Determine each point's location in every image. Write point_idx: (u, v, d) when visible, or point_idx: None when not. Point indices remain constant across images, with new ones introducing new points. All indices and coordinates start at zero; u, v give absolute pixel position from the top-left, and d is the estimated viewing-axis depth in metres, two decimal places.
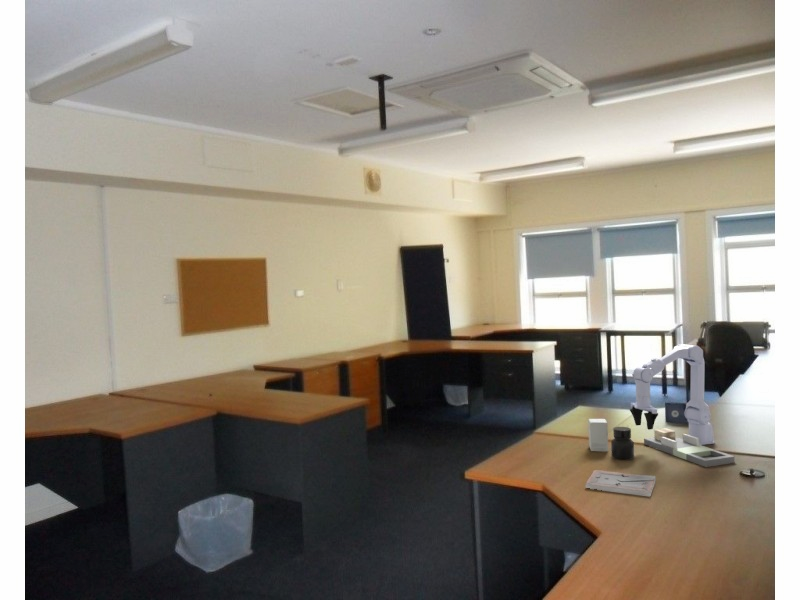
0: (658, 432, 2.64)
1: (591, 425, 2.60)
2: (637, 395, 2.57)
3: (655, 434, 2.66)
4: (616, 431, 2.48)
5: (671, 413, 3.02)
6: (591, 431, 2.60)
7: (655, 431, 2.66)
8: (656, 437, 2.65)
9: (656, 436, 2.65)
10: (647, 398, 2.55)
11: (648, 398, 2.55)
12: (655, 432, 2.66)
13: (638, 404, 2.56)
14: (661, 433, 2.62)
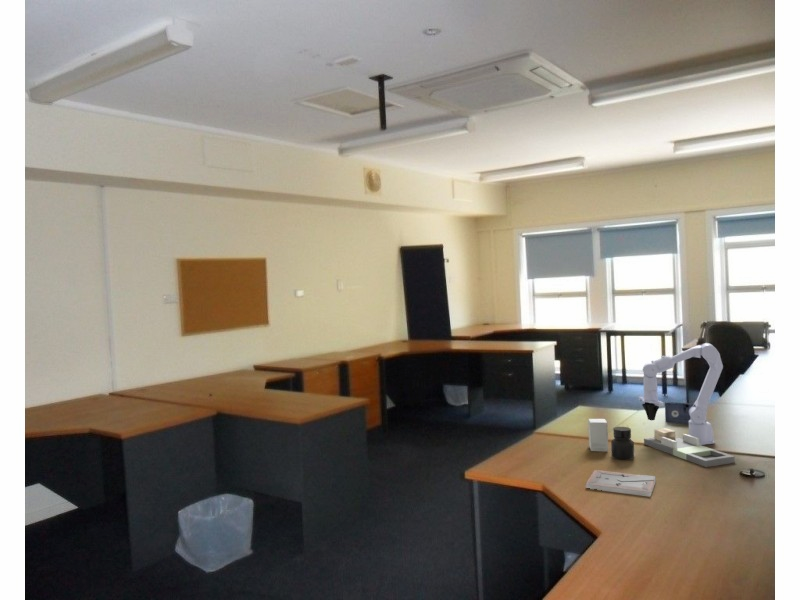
0: (658, 432, 2.64)
1: (591, 425, 2.60)
2: None
3: (655, 434, 2.66)
4: (616, 431, 2.48)
5: (671, 413, 3.02)
6: (591, 431, 2.60)
7: (655, 431, 2.66)
8: (656, 437, 2.65)
9: (656, 436, 2.65)
10: (654, 392, 2.69)
11: (655, 392, 2.69)
12: (655, 432, 2.66)
13: (646, 398, 2.71)
14: (661, 433, 2.62)
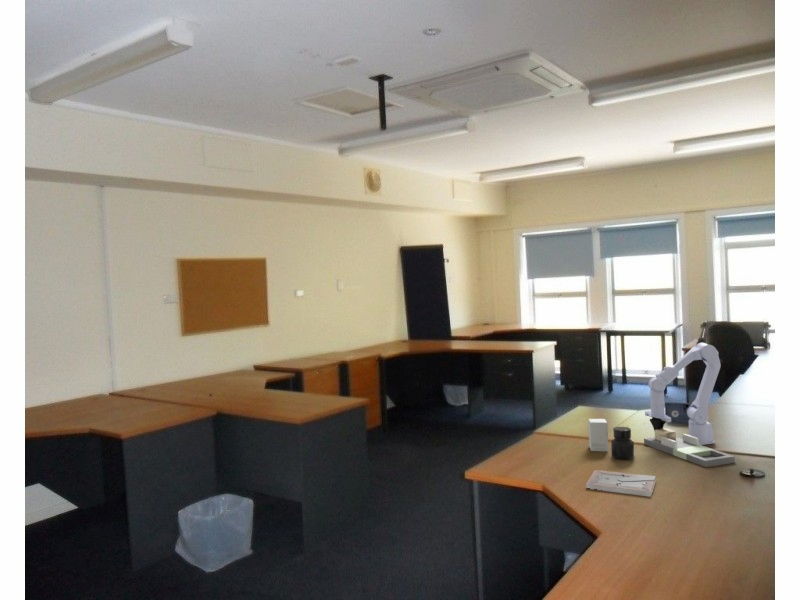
0: (658, 432, 2.64)
1: (591, 425, 2.60)
2: None
3: (655, 434, 2.66)
4: (616, 431, 2.48)
5: (671, 413, 3.02)
6: (591, 431, 2.60)
7: (655, 431, 2.66)
8: (656, 437, 2.65)
9: (656, 436, 2.65)
10: (661, 407, 2.65)
11: (662, 407, 2.66)
12: (655, 432, 2.66)
13: (652, 413, 2.67)
14: (661, 433, 2.62)
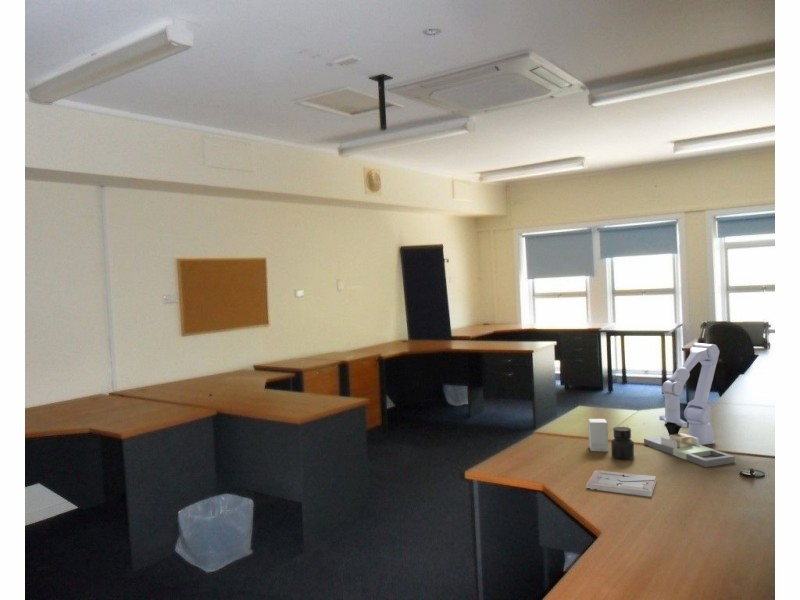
0: (674, 437, 2.55)
1: (591, 425, 2.60)
2: (667, 408, 2.58)
3: (671, 439, 2.57)
4: (616, 431, 2.48)
5: None
6: (591, 431, 2.60)
7: (671, 436, 2.56)
8: None
9: None
10: (677, 411, 2.56)
11: (678, 411, 2.56)
12: (671, 437, 2.56)
13: (668, 417, 2.58)
14: (677, 438, 2.53)
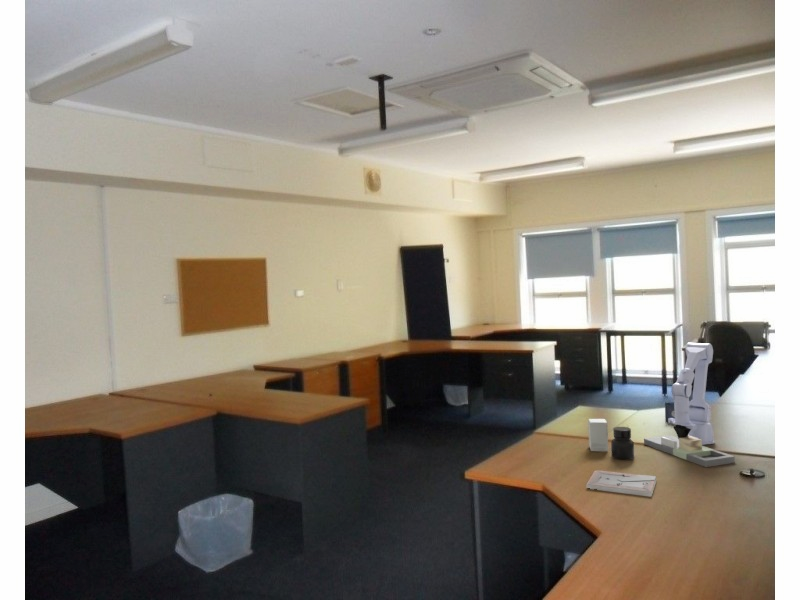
0: (683, 441, 2.49)
1: (591, 425, 2.60)
2: (678, 411, 2.52)
3: (680, 443, 2.51)
4: (616, 431, 2.48)
5: (671, 413, 3.02)
6: (591, 431, 2.60)
7: (680, 439, 2.51)
8: (681, 446, 2.51)
9: (681, 445, 2.51)
10: (686, 414, 2.51)
11: (687, 414, 2.51)
12: (680, 441, 2.51)
13: (677, 420, 2.53)
14: (686, 442, 2.48)
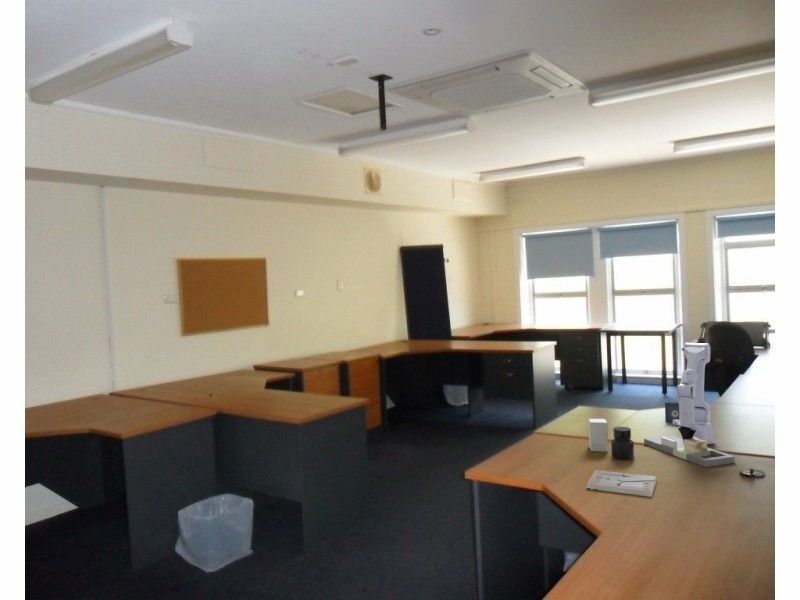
0: (688, 442, 2.47)
1: (591, 425, 2.60)
2: (684, 413, 2.49)
3: (685, 444, 2.49)
4: (616, 431, 2.48)
5: (671, 413, 3.02)
6: (591, 431, 2.60)
7: (685, 441, 2.49)
8: (686, 448, 2.48)
9: (686, 446, 2.48)
10: (691, 415, 2.48)
11: (692, 415, 2.49)
12: (685, 442, 2.49)
13: (682, 421, 2.50)
14: (692, 443, 2.45)
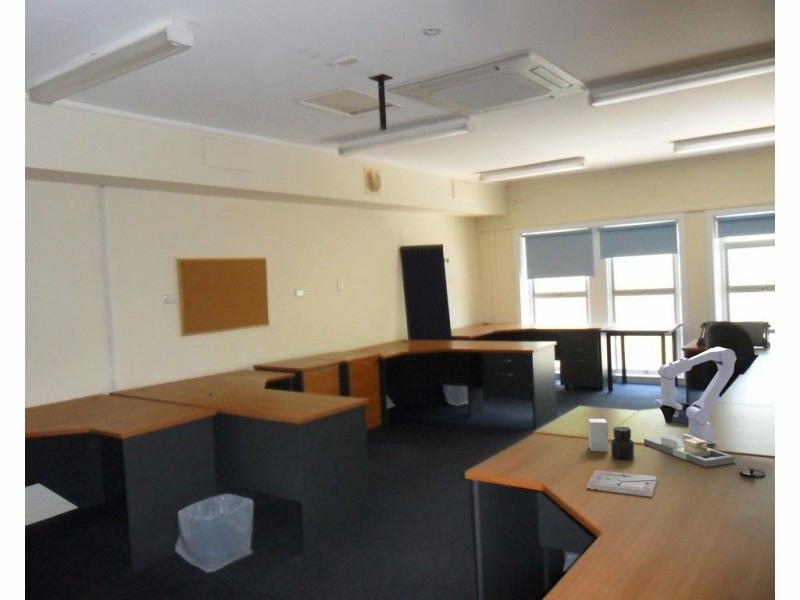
0: (688, 442, 2.47)
1: (591, 425, 2.60)
2: (661, 391, 2.66)
3: (685, 444, 2.49)
4: (616, 431, 2.48)
5: None
6: (591, 431, 2.60)
7: (685, 441, 2.49)
8: (686, 448, 2.48)
9: (686, 446, 2.48)
10: (672, 394, 2.63)
11: (673, 394, 2.63)
12: (685, 442, 2.49)
13: (663, 400, 2.64)
14: (692, 443, 2.45)
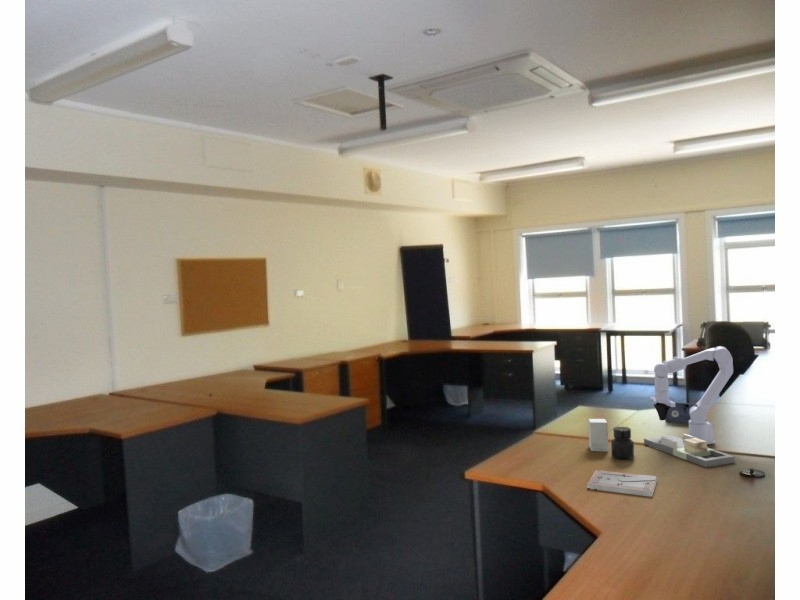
0: (688, 442, 2.47)
1: (591, 425, 2.60)
2: (655, 389, 2.72)
3: (685, 444, 2.49)
4: (616, 431, 2.48)
5: (671, 413, 3.02)
6: (591, 431, 2.60)
7: (685, 441, 2.49)
8: (686, 448, 2.48)
9: (686, 446, 2.48)
10: (666, 392, 2.68)
11: (666, 392, 2.68)
12: (685, 442, 2.49)
13: (657, 398, 2.70)
14: (692, 443, 2.45)
